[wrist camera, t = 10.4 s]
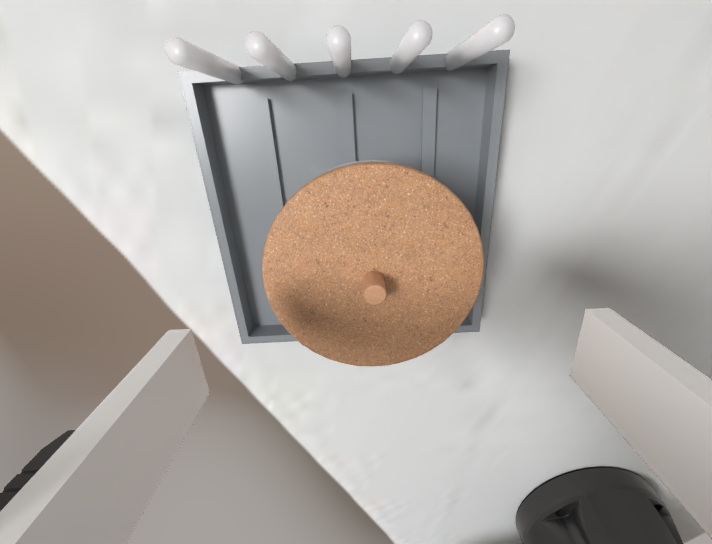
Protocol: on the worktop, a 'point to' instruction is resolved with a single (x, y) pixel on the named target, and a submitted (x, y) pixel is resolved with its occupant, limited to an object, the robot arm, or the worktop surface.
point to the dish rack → (338, 136)
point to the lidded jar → (372, 263)
